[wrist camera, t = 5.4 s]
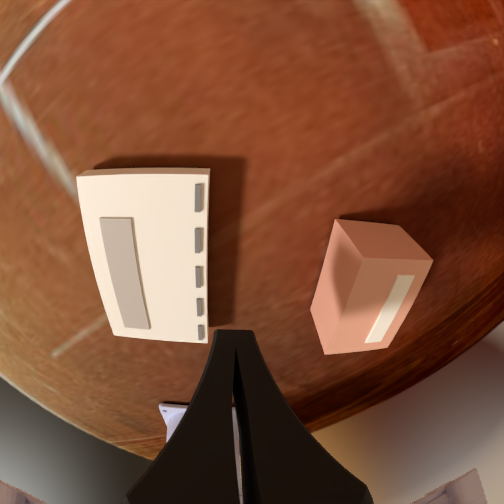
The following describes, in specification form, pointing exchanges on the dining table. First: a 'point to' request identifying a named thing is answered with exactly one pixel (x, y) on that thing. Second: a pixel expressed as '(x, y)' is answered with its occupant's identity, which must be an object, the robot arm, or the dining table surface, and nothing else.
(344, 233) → the pink rectangular block
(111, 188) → the white slotted panel
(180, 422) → the robot arm
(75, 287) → the dining table surface
